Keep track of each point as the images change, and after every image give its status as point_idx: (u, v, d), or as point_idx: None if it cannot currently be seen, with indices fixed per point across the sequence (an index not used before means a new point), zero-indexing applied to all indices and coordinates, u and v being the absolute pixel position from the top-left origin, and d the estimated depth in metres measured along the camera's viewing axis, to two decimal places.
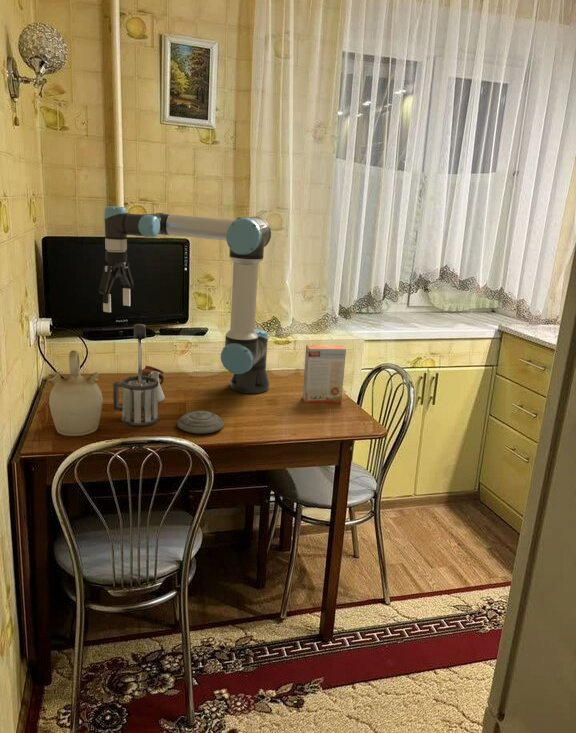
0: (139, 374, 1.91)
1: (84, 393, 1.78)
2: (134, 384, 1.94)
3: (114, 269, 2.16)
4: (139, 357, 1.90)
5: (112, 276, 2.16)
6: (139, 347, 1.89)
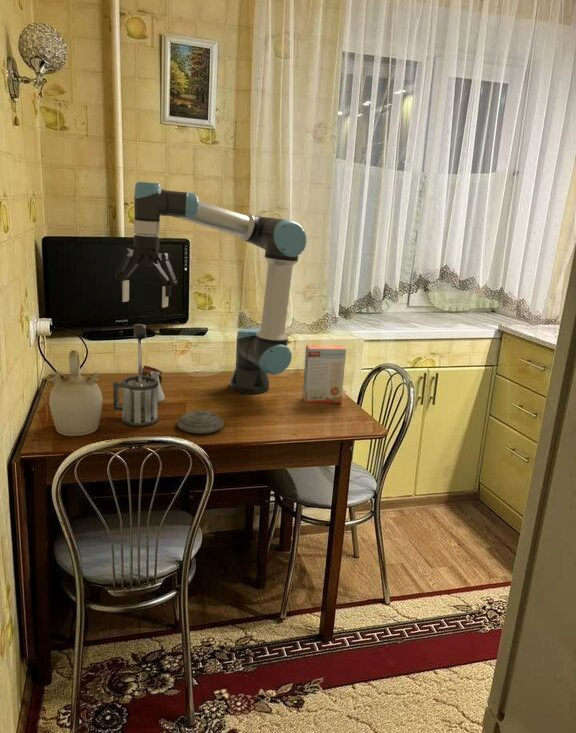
0: (139, 374, 1.91)
1: (84, 393, 1.78)
2: (134, 384, 1.94)
3: (135, 255, 1.85)
4: (139, 357, 1.90)
5: None
6: (139, 347, 1.89)
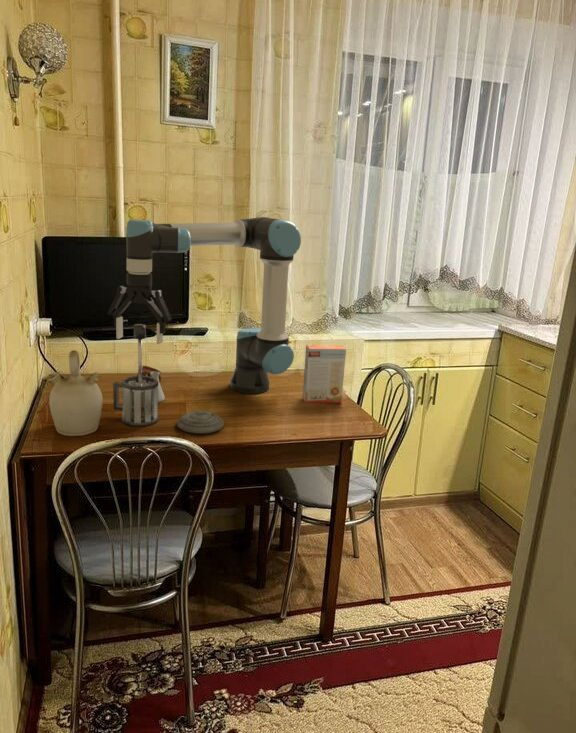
0: (139, 374, 1.91)
1: (84, 393, 1.78)
2: (134, 384, 1.94)
3: (128, 292, 1.84)
4: (139, 357, 1.90)
5: None
6: (139, 347, 1.89)
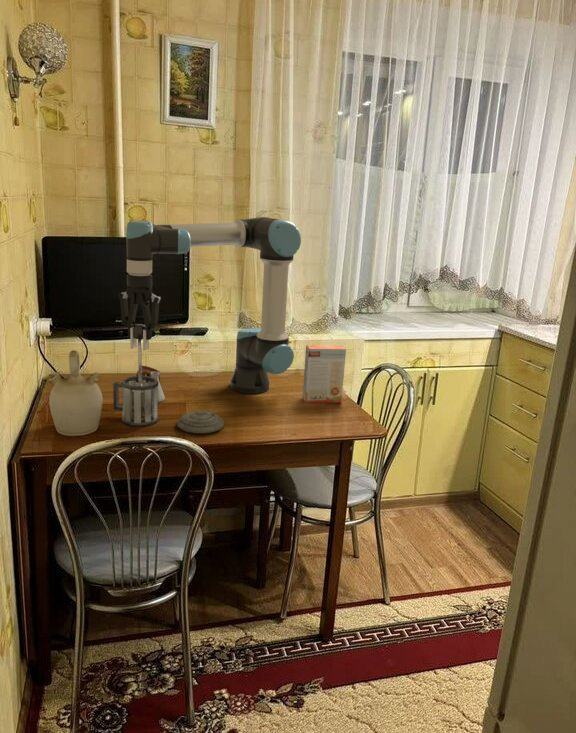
0: (139, 374, 1.91)
1: (84, 393, 1.78)
2: (134, 384, 1.94)
3: (129, 293, 1.84)
4: (139, 357, 1.90)
5: None
6: (139, 347, 1.89)
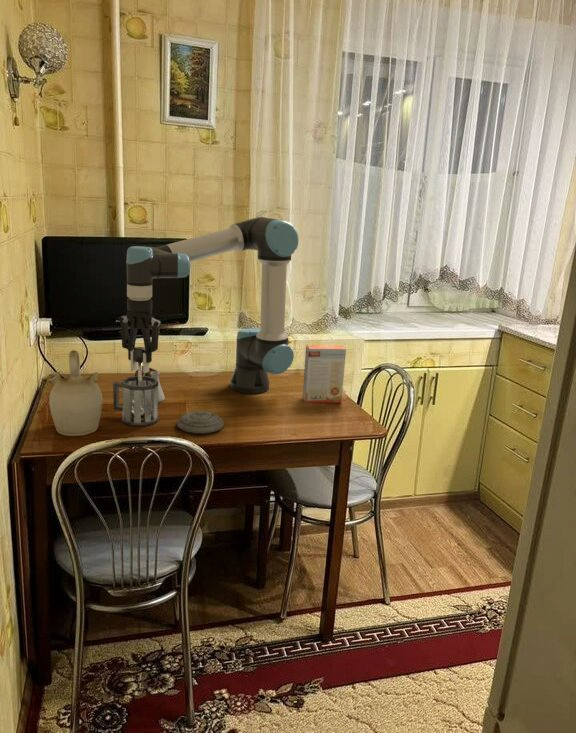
0: None
1: (84, 393, 1.78)
2: None
3: (129, 317, 1.86)
4: (139, 380, 1.92)
5: None
6: (139, 370, 1.91)
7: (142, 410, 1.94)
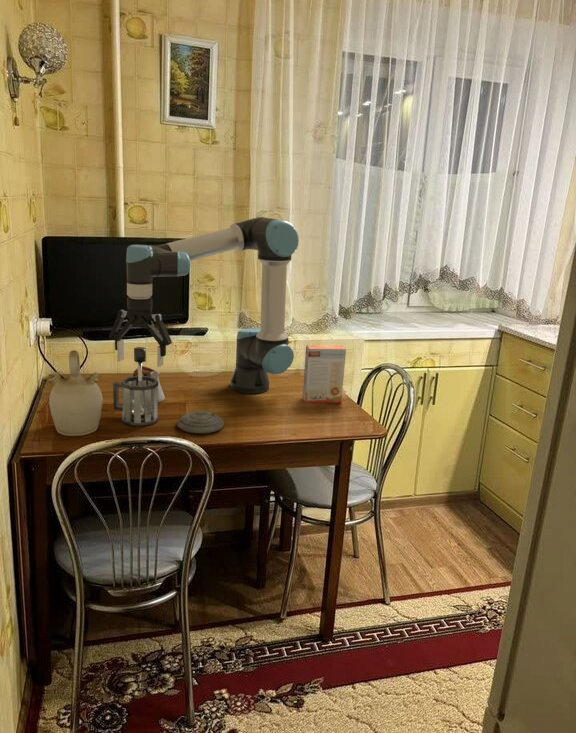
0: None
1: (84, 393, 1.78)
2: None
3: (129, 316, 1.86)
4: (139, 380, 1.92)
5: None
6: (139, 370, 1.91)
7: (142, 410, 1.94)
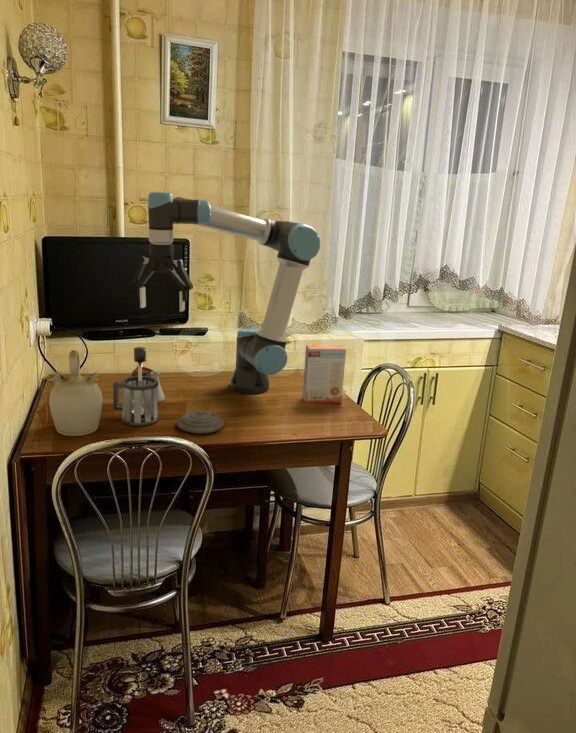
0: None
1: (84, 393, 1.78)
2: None
3: (151, 262, 1.92)
4: (139, 380, 1.92)
5: (149, 270, 1.93)
6: (139, 370, 1.91)
7: (142, 410, 1.94)
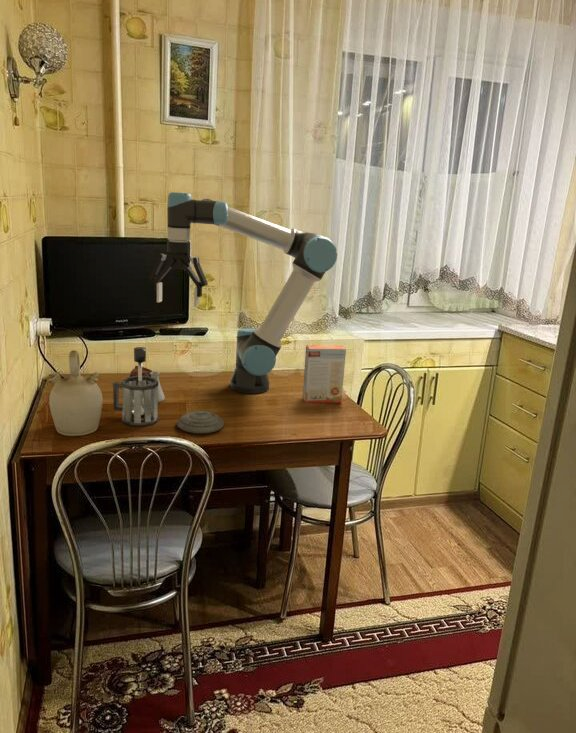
0: None
1: (84, 393, 1.78)
2: None
3: (168, 259, 2.02)
4: (139, 380, 1.92)
5: None
6: (139, 370, 1.91)
7: (142, 410, 1.94)
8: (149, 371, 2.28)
